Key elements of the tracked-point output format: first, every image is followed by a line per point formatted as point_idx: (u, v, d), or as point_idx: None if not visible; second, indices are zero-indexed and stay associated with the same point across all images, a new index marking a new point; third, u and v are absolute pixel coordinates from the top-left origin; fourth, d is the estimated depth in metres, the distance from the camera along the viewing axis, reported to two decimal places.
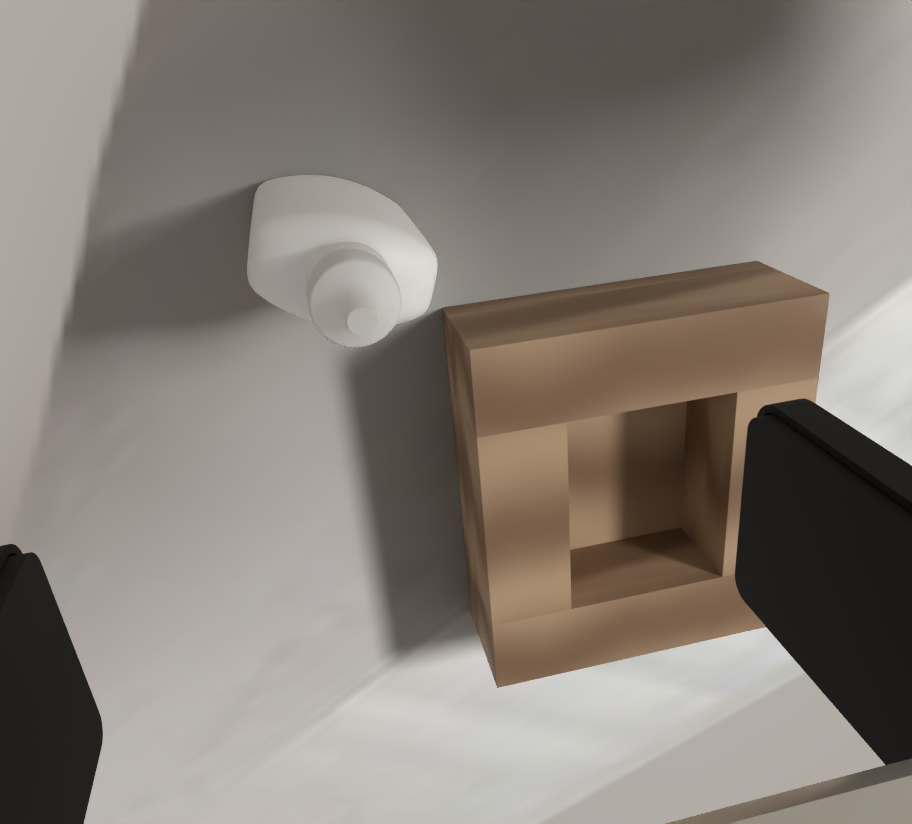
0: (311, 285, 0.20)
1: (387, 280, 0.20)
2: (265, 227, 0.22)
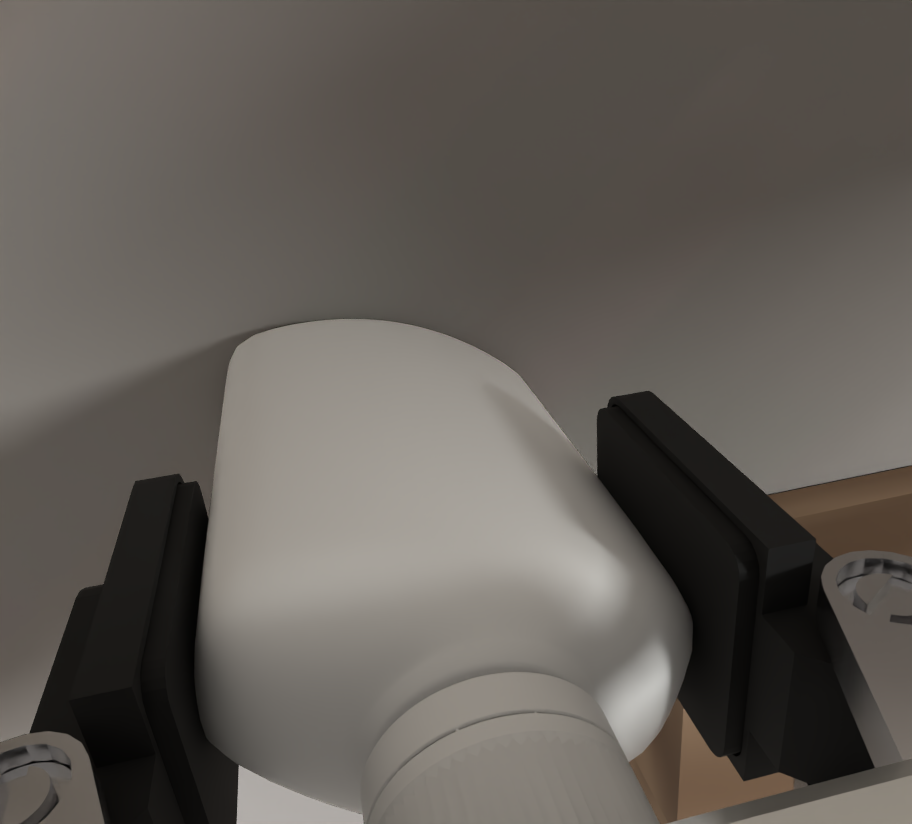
0: None
1: None
2: (239, 602, 0.07)
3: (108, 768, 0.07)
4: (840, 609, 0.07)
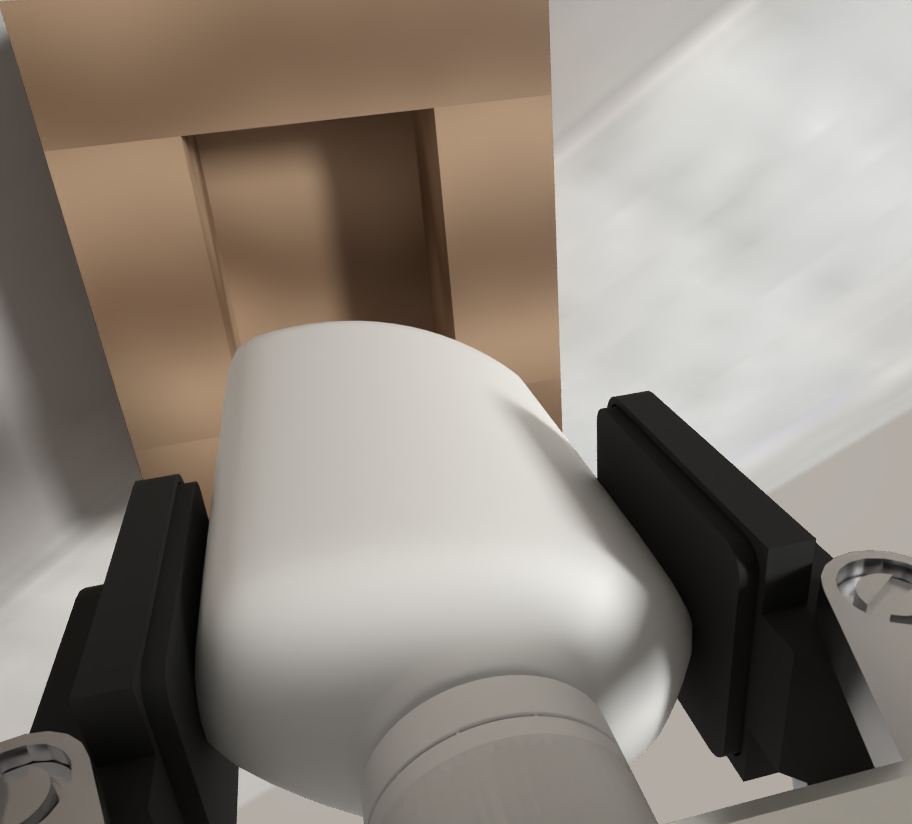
0: None
1: None
2: (239, 604, 0.07)
3: (108, 768, 0.07)
4: (840, 609, 0.07)
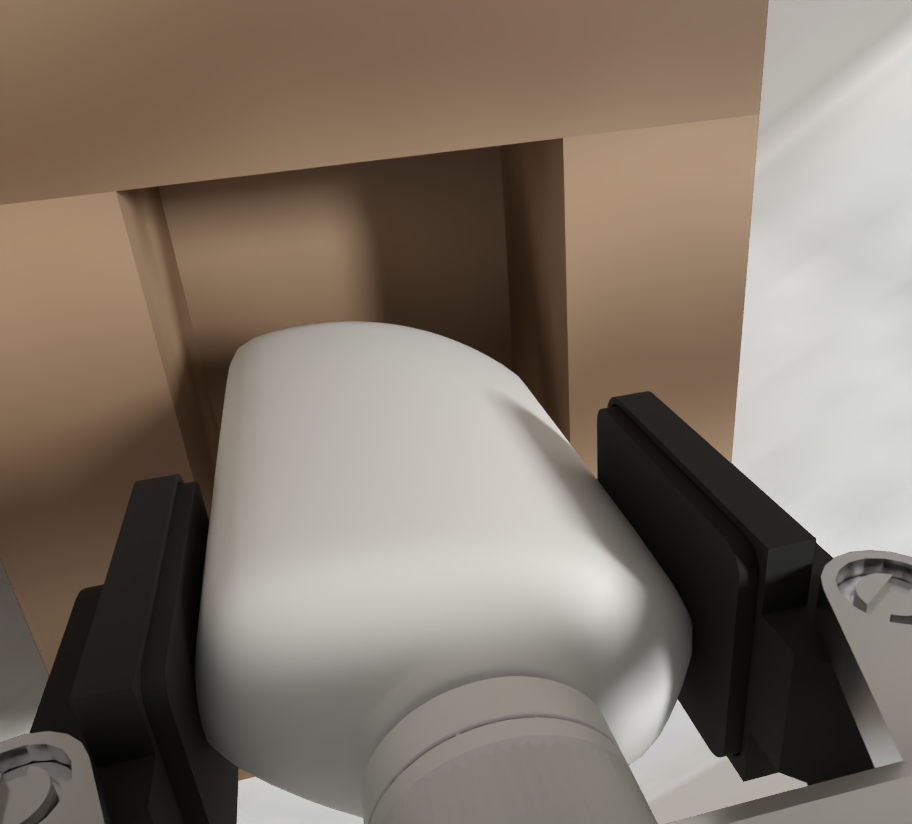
0: None
1: None
2: (239, 604, 0.07)
3: (108, 768, 0.07)
4: (840, 609, 0.07)
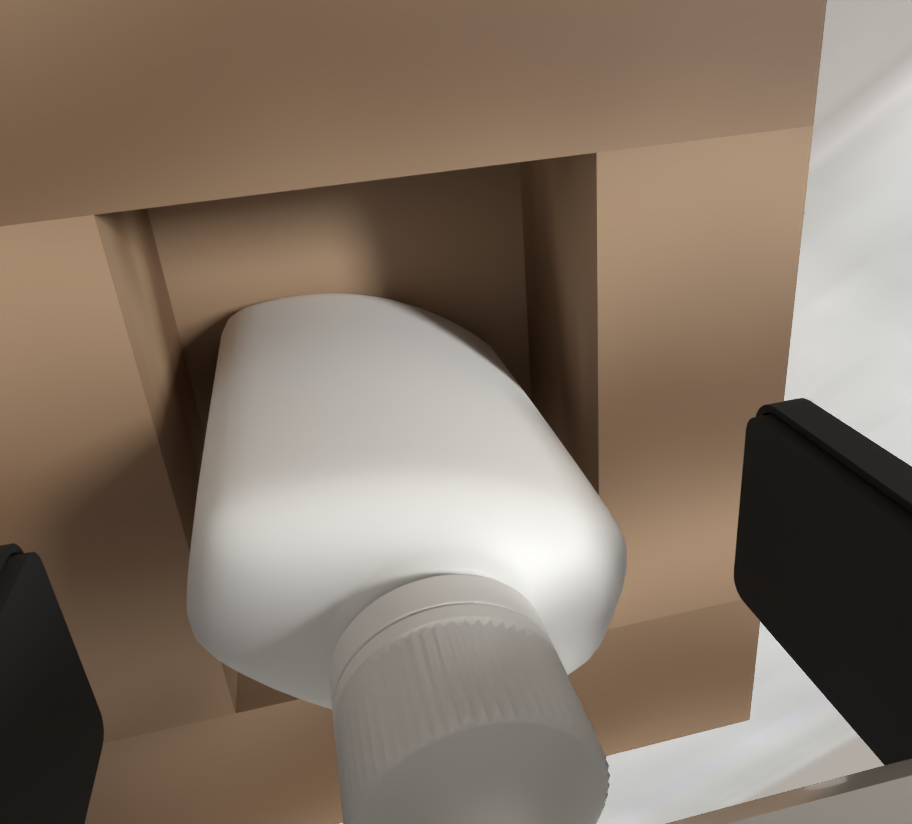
0: (353, 769, 0.07)
1: (580, 759, 0.07)
2: (226, 519, 0.09)
3: None
4: None
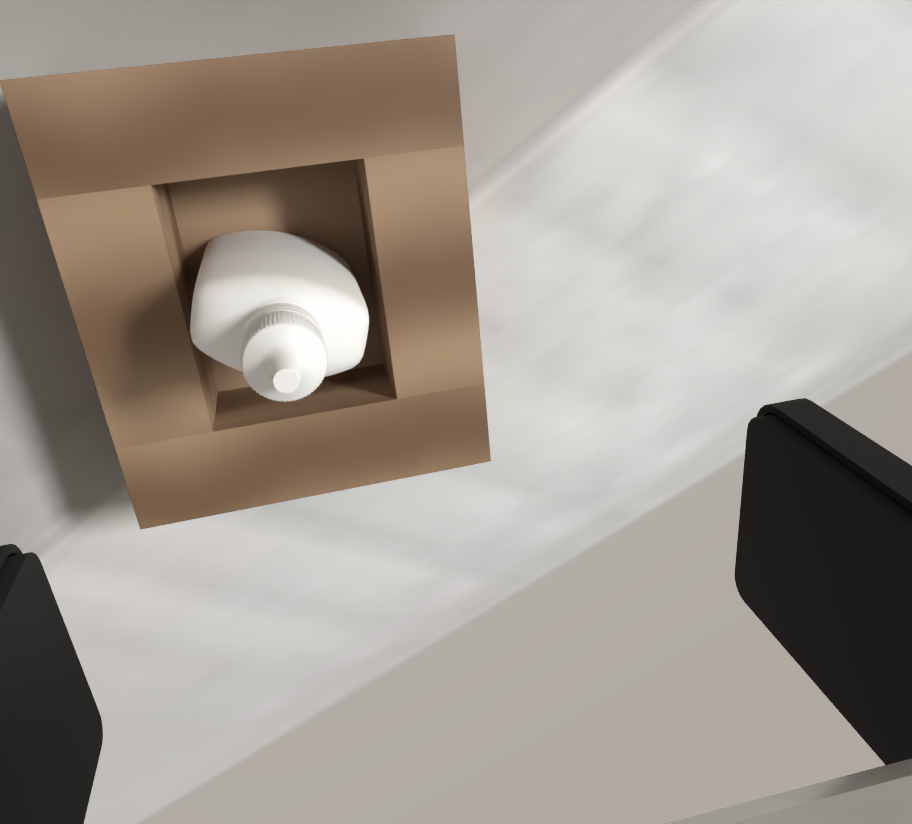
0: (243, 346, 0.22)
1: (313, 341, 0.22)
2: (204, 290, 0.24)
3: None
4: None
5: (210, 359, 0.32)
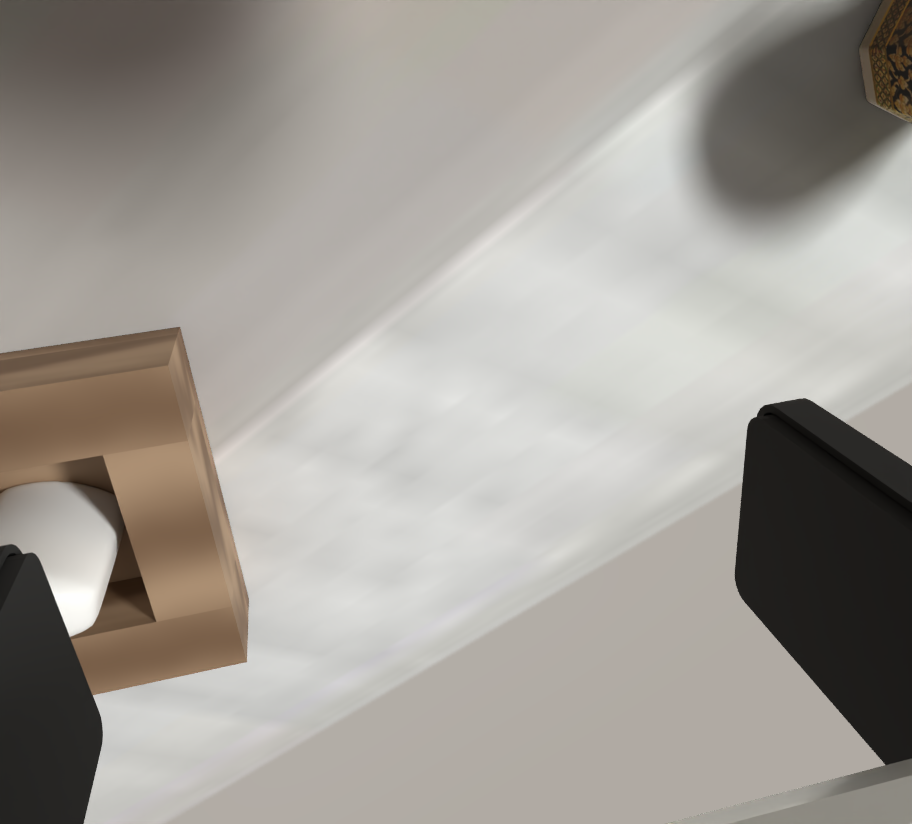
0: None
1: None
2: None
3: None
4: None
5: None
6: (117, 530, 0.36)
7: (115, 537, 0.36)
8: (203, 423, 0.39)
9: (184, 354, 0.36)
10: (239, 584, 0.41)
